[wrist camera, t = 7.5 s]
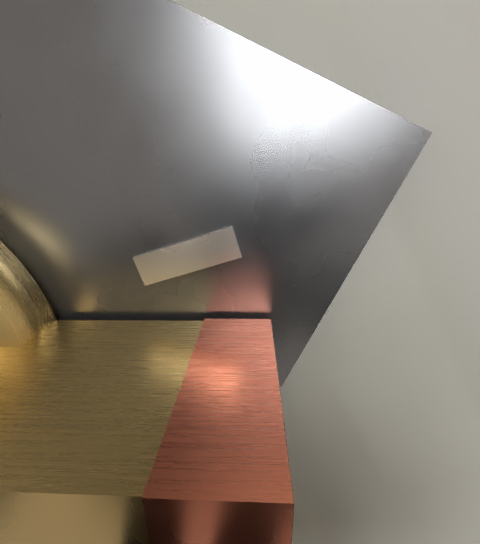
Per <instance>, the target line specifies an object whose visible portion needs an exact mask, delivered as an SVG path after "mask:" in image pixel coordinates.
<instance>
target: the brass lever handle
mask: <svg viewBox="0 0 480 544" xmlns="http://www.w3.org/2000/svg"><path fill="white" fill-rule="evenodd" d="M293 511H294V500H293V492H292V484H291V476H290V468H289V460H288V452H287V444H286V436H285V428H284V420H283V412H282V404H281V396H280V388H279V380H278V372H277V364H276V356H275V348H274V340H273V332H272V324H271V319H204V321H150V320H57V319H56V317H55V315H54V313H53V310H52V308H51V306H50V304H49V302H48V301H47V299H46V297H45V296H44V294H43V292H42V291H41V289H40V287H39V286H38V284H37V283H36V281H35V280H34V279H33V277H32V276H31V275H30V273H29V272H28V271H27V269H26V268H25V267H24V265H23V264H22V263H21V262H20V261H19V260H18V259H17V257H16V256H15V255H14V254H13V253H12V252H11V251H10V250H9V249H8V248H7V247H6V246H5V245H4V244H3V243H2V242H1V241H0V544H292V528H293Z"/></svg>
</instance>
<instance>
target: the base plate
mask: <svg viewBox="0 0 480 544" xmlns="http://www.w3.org/2000/svg"><path fill="white" fill-rule="evenodd" d="M431 133H432V132H430V131H428V130H426V129H424V128H422V127H420V126H418V125H416V124H414V123H412V122H410V121H408V120H406V119H404V118H402V117H400V116H398V115H396V114H394V113H392V112H390V111H388V110H386V109H384V108H382V107H380V106H379V105H377V104H375V103H373V102H371V101H369V100H367V99H365V98H363V97H361V96H359V95H357V94H355V93H353V92H351V91H349V90H347V89H345V88H343V87H341V86H339V85H337V84H335V83H333V82H331V81H329V80H327V79H325V78H323V77H321V76H319V75H317V74H315V73H313V72H311V71H309V70H307V69H305V68H303V67H301V66H299V65H297V64H295V63H293V62H291V61H289V60H287V59H285V58H283V57H281V56H279V55H278V54H276V53H274V52H272V51H270V50H268V49H266V48H264V47H262V46H260V45H258V44H256V43H254V42H252V41H250V40H248V39H246V38H244V37H242V36H240V35H238V34H236V33H234V32H232V31H230V30H228V29H226V28H224V27H222V26H220V25H218V24H216V23H214V22H212V21H210V20H208V19H206V18H204V17H202V16H200V15H198V14H196V13H194V12H192V11H190V10H188V9H186V8H184V7H182V6H180V5H178V4H177V3H175V2H173V1H171V0H0V241H1V242H2V243H3V244H4V245H5V246H6V247H7V248H8V249H9V250H10V251H11V252H12V253H13V254H14V255H15V256H16V257H17V259H18V260H19V261H20V262H21V263H22V264H23V265H24V267H25V268H26V269H27V271H28V272H29V273H30V275H31V276H32V277H33V279H34V280H35V281H36V283H37V284H38V286H39V287H40V289H41V291H42V292H43V294H44V296H45V297H46V299H47V301H48V302H49V304H50V306H51V308H52V310H53V313H54V315H55V317H56V319H57V320H150V321H204V319H271V324H272V332H273V340H274V348H275V356H276V364H277V372H278V380H279V388H281V386H282V384H283V383H284V381H285V379H286V378H287V376H288V374H289V373H290V371H291V369H292V368H293V366H294V364H295V362H296V361H297V359H298V357H299V356H300V354H301V352H302V351H303V349H304V347H305V346H306V344H307V342H308V341H309V339H310V337H311V336H312V334H313V332H314V330H315V329H316V327H317V325H318V324H319V322H320V320H321V319H322V317H323V315H324V314H325V312H326V310H327V309H328V307H329V305H330V304H331V302H332V300H333V298H334V297H335V295H336V293H337V292H338V290H339V288H340V287H341V285H342V283H343V282H344V280H345V278H346V277H347V275H348V273H349V272H350V270H351V268H352V266H353V265H354V263H355V261H356V260H357V258H358V256H359V255H360V253H361V251H362V250H363V248H364V246H365V245H366V243H367V241H368V240H369V238H370V236H371V234H372V233H373V231H374V229H375V228H376V226H377V224H378V223H379V221H380V219H381V218H382V216H383V214H384V213H385V211H386V209H387V208H388V206H389V204H390V202H391V201H392V199H393V197H394V196H395V194H396V192H397V191H398V189H399V187H400V186H401V184H402V182H403V181H404V179H405V177H406V176H407V174H408V172H409V170H410V169H411V167H412V165H413V164H414V162H415V160H416V159H417V157H418V155H419V154H420V152H421V150H422V149H423V147H424V145H425V144H426V142H427V140H428V138H429V137H430V135H431Z"/></svg>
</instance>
